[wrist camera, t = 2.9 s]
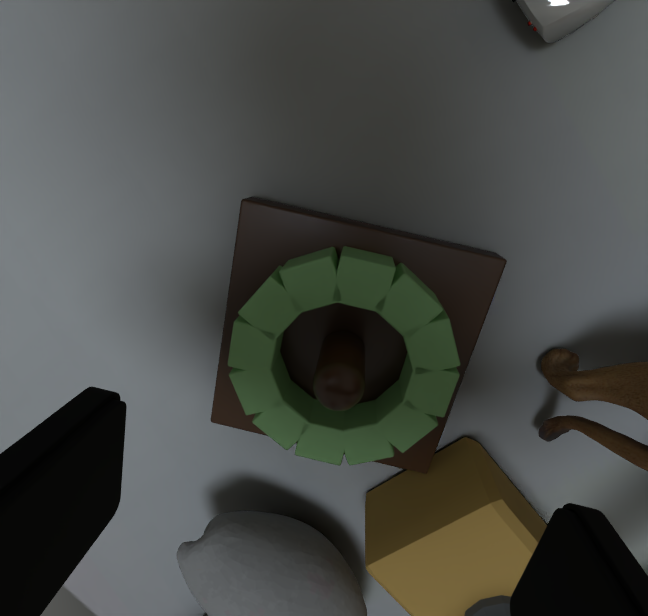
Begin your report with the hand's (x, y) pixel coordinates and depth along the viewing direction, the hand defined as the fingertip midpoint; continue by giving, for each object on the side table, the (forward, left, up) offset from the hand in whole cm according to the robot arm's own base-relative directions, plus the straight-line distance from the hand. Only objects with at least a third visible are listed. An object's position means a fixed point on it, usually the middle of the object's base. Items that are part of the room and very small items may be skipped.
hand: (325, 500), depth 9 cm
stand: (0, 0, -8) cm, 8 cm away
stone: (+11, 0, -8) cm, 13 cm away
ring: (0, 0, -6) cm, 6 cm away
